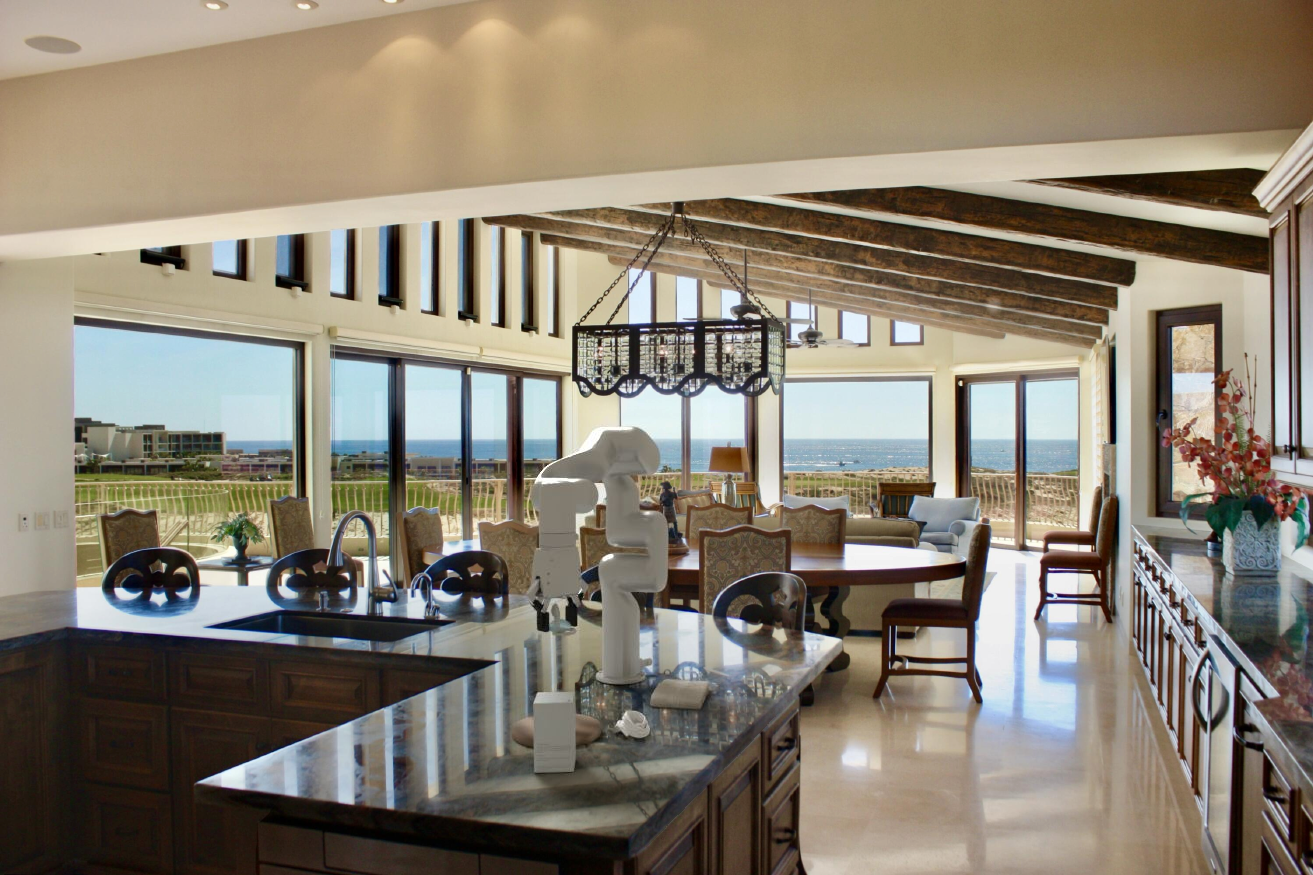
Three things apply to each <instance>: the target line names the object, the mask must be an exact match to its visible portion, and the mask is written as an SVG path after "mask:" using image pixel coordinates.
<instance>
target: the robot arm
mask: <svg viewBox="0 0 1313 875" xmlns="http://www.w3.org/2000/svg"><path fill="white" fill-rule="evenodd" d="M660 465H661V453H660V449H659V447H658V445H657V443H656V442H655V441H654V439H652V437H651V436H650V435H649V434H648V433H647V432H646V431H645V430H644V429H642V428H640V427H638V426H637V427H636V426H601V427H597V428H595V429H594V430H592V431H591V433H590V434H589V435H588V436H587V437H586V439H585V441H584V442H583V443H582V445H581V446H580V448H579V449H578V451H577V452H574V453H573V454H569V455H567V456H565V457H563V458H560V459H558V460H556V461H554V462H551V463H549V464H548V465H547V466H545V467H544V468H543V469H542V471H541V472H540V473H539V474H538V476H537V477H536V478H535V480H534V482H533V483H532V484H533V485H532V486H531V490H530V503H531V505H532V507H533V508H534V509H535V510H536V511H537V512H538V548H537V547H536V548H535V550H534V555H533V561H532V566H531V580H530V583H531V584H530V586H529V587H528V589H527V590H526V592H525V593H524V598H526V600H527V601H528V602H529V605H530V606H531V607H532V608H533V610H534V611H535V612H536V629H537V631H539V632H541V633H549V632H550V631H549V624H550V612H549V611H548V608H549V607H550V606H549V605H550V603H551V600H552V599H556V598H557V599H558V598H563V597H564V598H565V600H566V603H567V605H565V607H564V611H565V612H564V613H565V614H564V616H565V618H564V620H566V621H568V622H569V623H570V624H571V627H572V628H575V627H578V623H579V622H578V620H579V618H578V616H579V615H578V614H579V613H578V611H579V610H578V608H579V607H580V606H581V602H582V601H583V598H584V597H585V594H586V593H587V591H588V590H589V585H588V583H587V582H586V581H585V580H584V579H583V578H582V568H581V566H582V565H581V556H580V552H579V547H578V546H577V541H579V538H580V536H579V534H578V533H577V526H576V525H577V515H578V514H579V515H584V514H588V513H590V512H592V511H593V510H594V509H595V508H596V506H597V504H598V501H599V495H600V494H599V490H598V487H597V486H596V483H598V482H599V483H600V482H601V481H602V483H603V486H604V489H605V493H606V494H605V495H606V497H605V500H606V502H605V504H606V505H605V508H606V509H605V537H606V538H605V539H606V541H607V544H608V545H610V546H612V547H615V548H616V547H617V548H624V549H625V548H626V549H627V548H628V549H629V548H630V549H646V550H647V553H632V552H613V553H608V554H606V555H605V556H603V557H602V558H601V559H600V561H599V563H598V580H599V584H600V592H601V612H602V613H601V616H602V618H601V628H602V629H601V633H602V634H601V646H602V647H601V652H602V653H601V670H599V671H598V672H595V679H596V680H597V681H599V682H601V683H603V684H608V685H609V684H610V685H628V684H629V685H630V684H637V683H640V682H643V681H644V680H646V678H647V674H646V671H643V669H644V668H645V667H650V666H652V665H653V663H654V662H653V659H652V658H651V657H648V658H644V659H643V658H641V657H640V654H641V653H640V652H641V649H640V645H641V644H640V639H641V638H640V633H641V632H640V626H641V625H640V622H641V620H640V619H641V618H640V615H641V612H640V606H639V604H638V603H639V602H638V601H637V600H636V598H635V597H634V595H633V594H632V593H634V592H635V593H637V592H638V593H640V592H641V593H659V592H662V591H663V590H664V589H665V588H666V586H667V583H668V577H669V576H668V573H669V572H668V570H669V525H668V521H667V518H666V516H665V515H664V513H662V512H660V511H656V510H641V509H640V494H641V493H640V489H639V487H638V485H637V483H636V482H635V480H634V479H633V478H632V477H631V476H652V475H655V473H657V471H658V470H659V468H660Z"/></svg>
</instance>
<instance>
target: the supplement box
mask: <svg viewBox="0 0 1313 875" xmlns="http://www.w3.org/2000/svg"><path fill="white" fill-rule="evenodd" d="M532 708H533V710H532V711H533V712H532V713H533V715H532V716H534V747H533V770H534V773H535V774H539V773H574V770H575V765H576V759H577V756H576V755H577V754H576V753H577V749H576V748H577V746H576V745H575V714H576V692H575V691H550V692H549V691H547V692H544V691H543V692H540V691H539V692H536V695H535V698H534V701H533V702H532Z"/></svg>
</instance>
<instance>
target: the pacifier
mask: <svg viewBox="0 0 1313 875" xmlns="http://www.w3.org/2000/svg"><path fill="white" fill-rule="evenodd" d="M550 613H551V615H552V617H553V618H554V619H553V620H552V621H551V622H549V632H551V634H552V636H560V637H567V636H573V635H575V634H577V629H575V627H572V626H571V624H570V623H569V622H568V621H566V620H565V618H564V619H563V618H561V610H560V608H559V605H558V603H556V602H555V603H553V604H552V605H551V608H550Z"/></svg>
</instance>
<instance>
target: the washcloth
mask: <svg viewBox="0 0 1313 875" xmlns="http://www.w3.org/2000/svg"><path fill="white" fill-rule="evenodd" d="M710 687H711V683H710V682H709V681H706V680H700V681H699V680H698V681H696V680H692V681H691V680H684V679H680V678H677V679H669V678H667V679H663V680H662V681H661V682H658V684H657V686H656V688H654V690H653V692H652V693H651V696H650V702H649V703H650V704H649V706H650V707H653V708H665V709H667V708H670V709H672V708H673V709H679V710H680V709H686V710H700V709H702V707H703V703H705V700H706V697H707V695H708V694H709V692H710Z"/></svg>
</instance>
